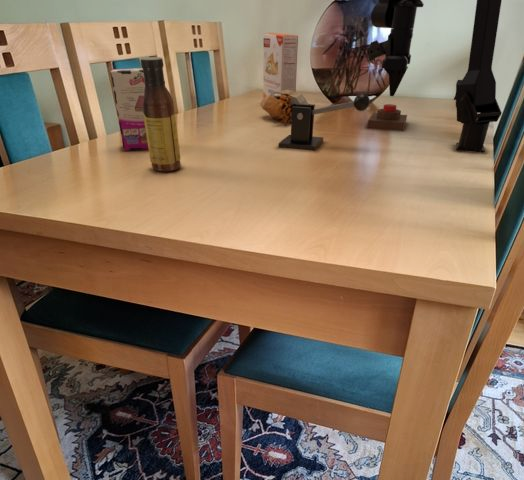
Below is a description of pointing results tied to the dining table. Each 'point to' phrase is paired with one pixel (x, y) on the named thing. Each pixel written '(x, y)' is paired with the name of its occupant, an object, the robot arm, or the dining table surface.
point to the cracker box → (279, 62)
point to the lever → (347, 105)
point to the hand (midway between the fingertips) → (391, 96)
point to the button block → (387, 120)
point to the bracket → (302, 130)
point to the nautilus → (282, 104)
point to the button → (389, 108)
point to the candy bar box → (130, 107)
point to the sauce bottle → (159, 118)
